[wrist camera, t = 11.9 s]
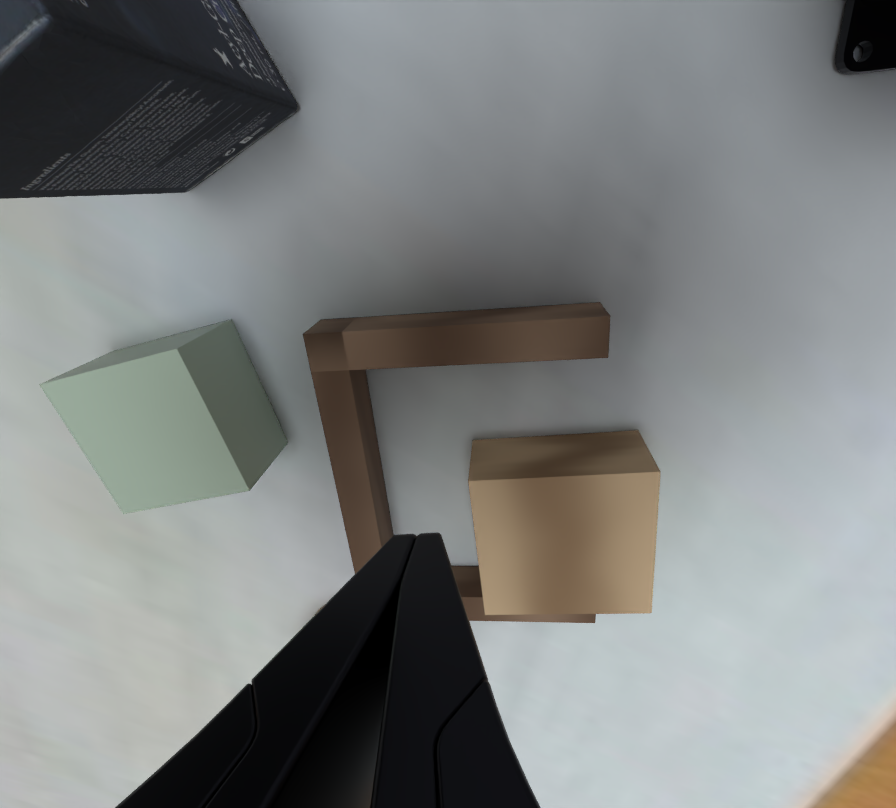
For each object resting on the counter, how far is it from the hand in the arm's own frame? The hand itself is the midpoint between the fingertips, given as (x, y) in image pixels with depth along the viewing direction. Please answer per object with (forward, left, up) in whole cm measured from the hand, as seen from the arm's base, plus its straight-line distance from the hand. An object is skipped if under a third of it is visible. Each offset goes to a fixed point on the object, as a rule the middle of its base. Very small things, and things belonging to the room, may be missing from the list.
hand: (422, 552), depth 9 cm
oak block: (-4, +8, -13) cm, 15 cm away
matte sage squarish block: (+12, +2, -13) cm, 18 cm away
